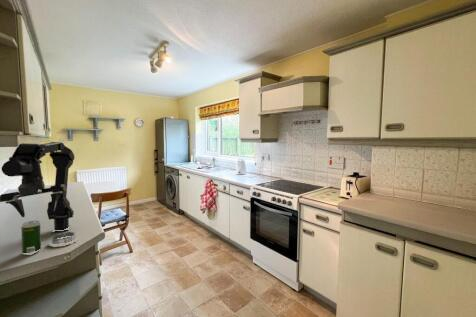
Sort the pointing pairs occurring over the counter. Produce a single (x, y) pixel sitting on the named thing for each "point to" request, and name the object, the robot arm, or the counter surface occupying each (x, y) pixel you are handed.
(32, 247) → the beer can
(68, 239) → the duct collar
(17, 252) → the counter surface
